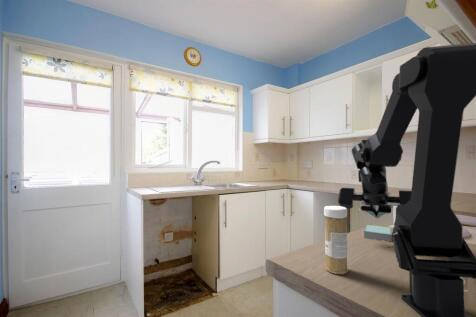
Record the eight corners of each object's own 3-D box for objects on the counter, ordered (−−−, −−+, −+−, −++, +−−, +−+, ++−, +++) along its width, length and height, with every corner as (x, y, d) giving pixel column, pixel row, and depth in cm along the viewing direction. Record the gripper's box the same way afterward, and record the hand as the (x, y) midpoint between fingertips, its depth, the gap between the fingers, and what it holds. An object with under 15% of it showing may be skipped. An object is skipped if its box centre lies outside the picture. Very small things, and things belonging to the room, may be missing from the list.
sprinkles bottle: (324, 264, 52) (323, 204, 52) (346, 267, 51) (345, 205, 51) (326, 274, 48) (324, 208, 48) (350, 276, 46) (348, 209, 47)
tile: (391, 234, 67) (391, 227, 74) (364, 231, 70) (366, 224, 77) (391, 243, 66) (391, 235, 74) (364, 239, 70) (366, 232, 77)
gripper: (416, 160, 60) (414, 197, 69) (339, 161, 71) (346, 193, 80) (420, 194, 54) (417, 230, 62) (334, 189, 64) (342, 221, 73)
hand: (377, 216), depth 70 cm, fingers closed
